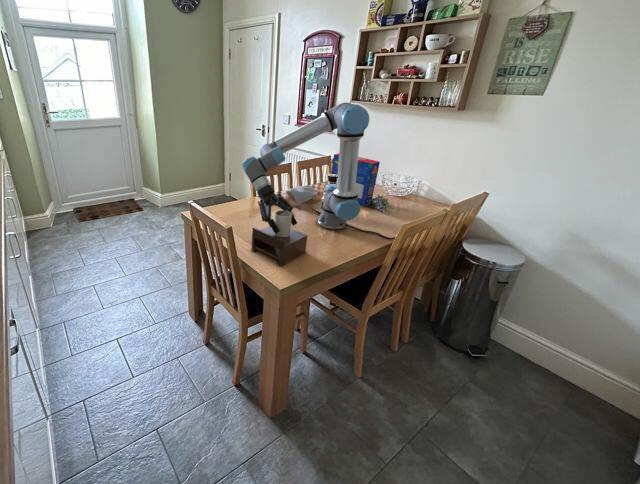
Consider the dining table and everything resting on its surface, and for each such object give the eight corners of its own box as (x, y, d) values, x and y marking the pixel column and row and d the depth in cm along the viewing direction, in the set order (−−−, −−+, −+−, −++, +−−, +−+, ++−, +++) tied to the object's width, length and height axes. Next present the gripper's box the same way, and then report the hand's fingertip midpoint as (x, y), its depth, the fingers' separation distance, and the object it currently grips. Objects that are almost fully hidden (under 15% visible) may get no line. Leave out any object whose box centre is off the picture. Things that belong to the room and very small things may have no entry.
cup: (291, 231, 153) (293, 211, 149) (288, 238, 147) (290, 217, 143) (275, 228, 155) (276, 209, 151) (272, 235, 149) (273, 215, 144)
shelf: (276, 238, 165) (277, 217, 160) (305, 252, 154) (308, 229, 149) (251, 250, 154) (252, 227, 149) (281, 266, 142) (283, 241, 137)
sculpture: (299, 192, 229) (300, 179, 225) (323, 199, 217) (324, 185, 213) (276, 201, 212) (277, 187, 208) (301, 209, 200) (302, 194, 196)
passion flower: (380, 220, 202) (380, 209, 193) (366, 211, 209) (365, 200, 199) (392, 208, 204) (393, 196, 194) (377, 199, 210) (377, 188, 201)
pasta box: (371, 204, 212) (379, 161, 200) (364, 206, 207) (372, 163, 195) (335, 192, 231) (341, 152, 220) (328, 194, 227) (333, 154, 215)
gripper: (275, 186, 162) (297, 224, 159) (240, 197, 147) (264, 240, 143) (285, 178, 156) (308, 217, 153) (249, 189, 141) (273, 233, 137)
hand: (286, 228), depth 148 cm, fingers open, 12 cm apart
